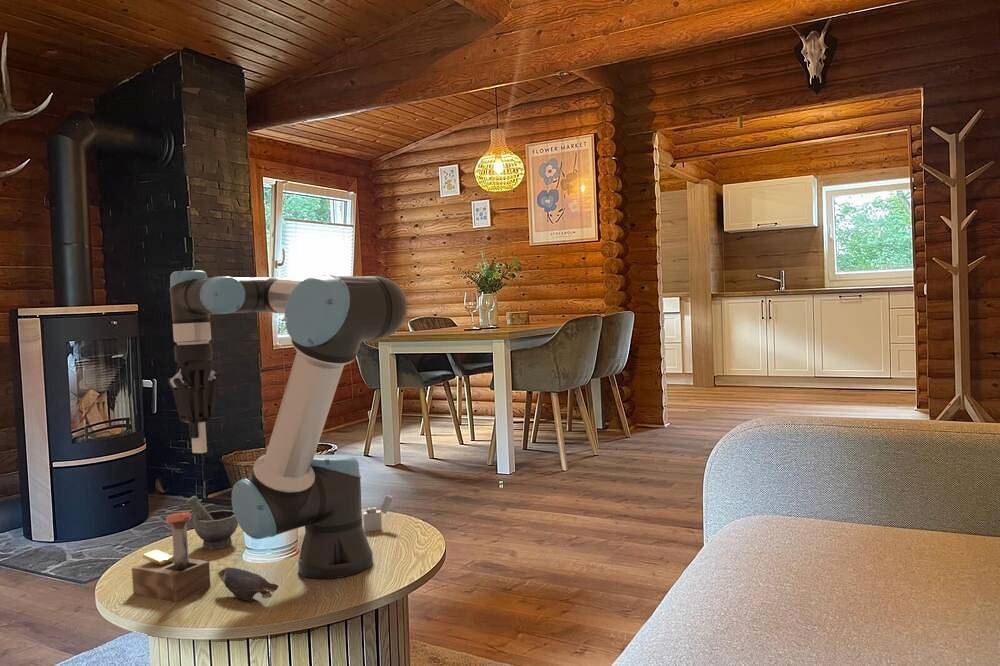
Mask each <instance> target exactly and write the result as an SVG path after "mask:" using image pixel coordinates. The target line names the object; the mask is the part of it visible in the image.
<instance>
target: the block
mask: <svg viewBox="0 0 1000 666" xmlns="http://www.w3.org/2000/svg"><path fill="white" fill-rule="evenodd" d="M210 570H211V569H210V561H207V560H201V559H195V558H189V568H188V569H185V570H183V571H175V567H174V561H172V562H169V563H167V564H164V565H162V566H159V565H158V564H155V563H153V562H151V561H149V560H148V561H147V562H144V563H141V564H139V565H135V566H132V567H131V576H132V577H131V578H132V592H133V594H134V593H137V594H136V595H139V594H141V595H140V596H146V597H151V598H155V599H160V600H165V601H171V602H180V601H182V600H185V598H186V599H187V598H188V597H191V596H193V595H195V594H197V593H200V592H202V591H204V590H207V589H208V588H210V587H211V573H210Z"/></svg>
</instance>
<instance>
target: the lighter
mask: <svg viewBox="0 0 1000 666" xmlns="http://www.w3.org/2000/svg"><path fill="white" fill-rule="evenodd" d="M393 498H394V497H393V496H392V495H389V494H386V495H385V497H384V499H383V503H382V505H381V507H380V509H379V510H377V508H376V507H368V508H367V509H366V510H365V512H362V522H363V529H364V532H365V533H367V532H376V531H382V530H383V525H382V514H385V515H387V513H388V510H389V509H390V506H391V503H392V500H393Z"/></svg>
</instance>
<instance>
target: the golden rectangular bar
mask: <svg viewBox="0 0 1000 666" xmlns="http://www.w3.org/2000/svg"><path fill="white" fill-rule="evenodd" d="M142 556H143V557H142V558H143V559H145V560H147V561H148V562H149V561H151V562H153V563H155V564H158V565H159V566H162V565H164V564H167V563H169V562H172V561H174V555H171V554H168V553H166V552H163V551H161V550H158V549H154V550H151V551H148V552H145V553H143V555H142Z"/></svg>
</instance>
